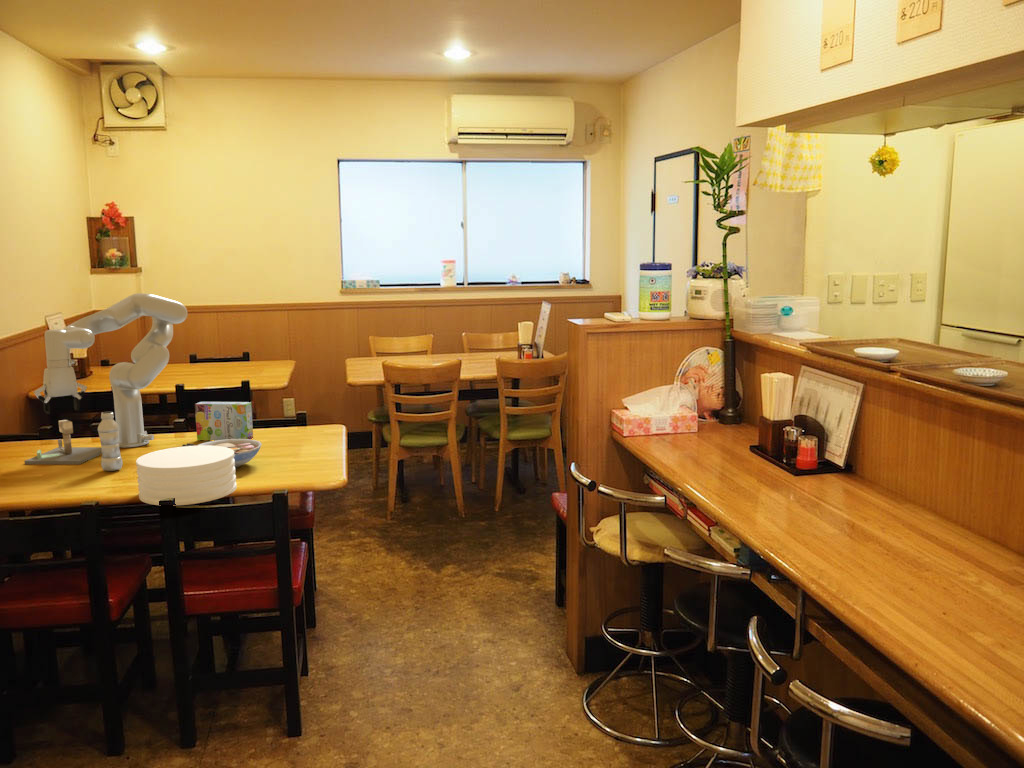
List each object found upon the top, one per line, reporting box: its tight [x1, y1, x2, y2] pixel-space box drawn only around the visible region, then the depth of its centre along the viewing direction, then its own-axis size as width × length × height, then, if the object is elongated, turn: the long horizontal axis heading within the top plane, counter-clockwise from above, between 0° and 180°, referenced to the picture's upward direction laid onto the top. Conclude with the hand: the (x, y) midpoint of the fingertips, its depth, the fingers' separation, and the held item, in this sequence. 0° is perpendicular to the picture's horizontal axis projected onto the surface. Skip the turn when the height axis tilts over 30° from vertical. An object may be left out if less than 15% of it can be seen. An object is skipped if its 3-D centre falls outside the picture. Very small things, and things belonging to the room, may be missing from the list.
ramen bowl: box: [181, 439, 262, 469], centre depth 287 cm, size 25×23×8 cm
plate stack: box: [135, 444, 237, 506], centre depth 258 cm, size 28×28×12 cm
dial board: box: [23, 446, 102, 465], centre depth 303 cm, size 20×20×3 cm
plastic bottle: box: [97, 411, 124, 472], centre depth 283 cm, size 6×7×20 cm
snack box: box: [194, 401, 254, 441], centre depth 326 cm, size 21×6×15 cm, turn 82°
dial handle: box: [57, 419, 74, 454], centre depth 304 cm, size 11×2×12 cm, turn 47°
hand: (62, 411), depth 301 cm, fingers open, 9 cm apart
